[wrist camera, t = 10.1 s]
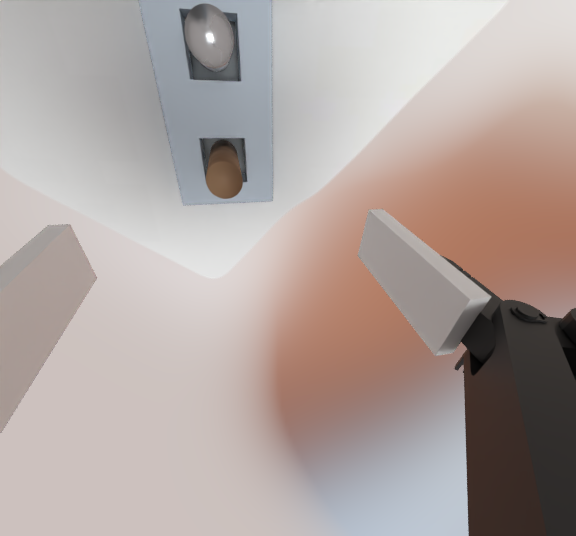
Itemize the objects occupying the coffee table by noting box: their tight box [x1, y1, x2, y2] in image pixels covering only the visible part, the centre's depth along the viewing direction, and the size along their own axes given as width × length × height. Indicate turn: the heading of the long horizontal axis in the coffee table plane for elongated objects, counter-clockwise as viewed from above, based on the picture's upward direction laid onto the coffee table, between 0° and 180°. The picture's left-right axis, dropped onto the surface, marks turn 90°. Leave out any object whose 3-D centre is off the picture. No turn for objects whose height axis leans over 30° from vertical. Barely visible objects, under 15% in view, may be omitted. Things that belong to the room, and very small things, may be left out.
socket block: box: [139, 0, 273, 205], centre depth 25 cm, size 18×10×4 cm, turn 179°
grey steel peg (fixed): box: [184, 3, 234, 72], centre depth 20 cm, size 3×3×10 cm
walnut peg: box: [206, 140, 243, 199], centre depth 25 cm, size 3×3×10 cm
